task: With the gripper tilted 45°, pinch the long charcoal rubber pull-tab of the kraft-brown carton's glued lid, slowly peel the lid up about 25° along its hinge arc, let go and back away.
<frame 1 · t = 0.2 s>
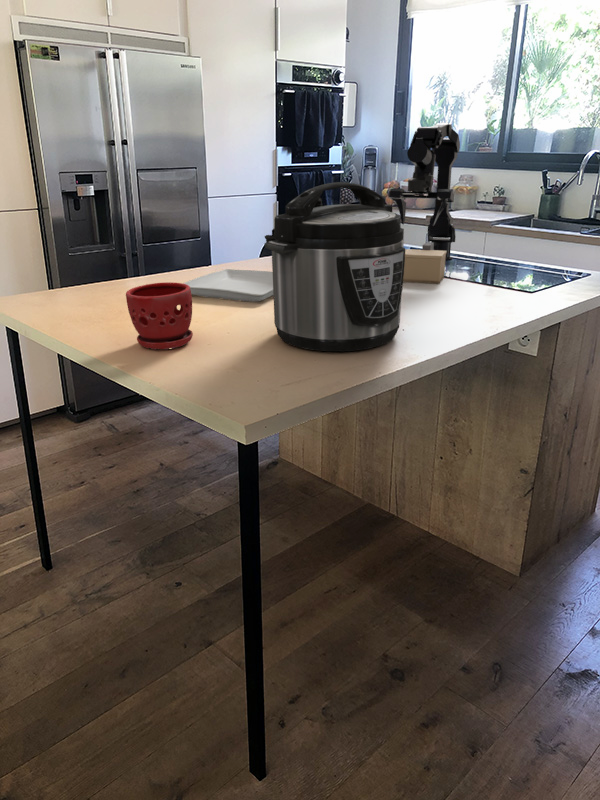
hand: (417, 224, 192), 16 cm above the table, tool tilted 15°, fingers open, 9 cm apart
pressure cooker: (338, 338, 138), on the table
lid: (425, 251, 194), point 8 cm above the table, hinge at 0.0°
square plate: (242, 293, 182), on the table
carton: (421, 279, 193), on the table
plant pot: (164, 345, 135), on the table
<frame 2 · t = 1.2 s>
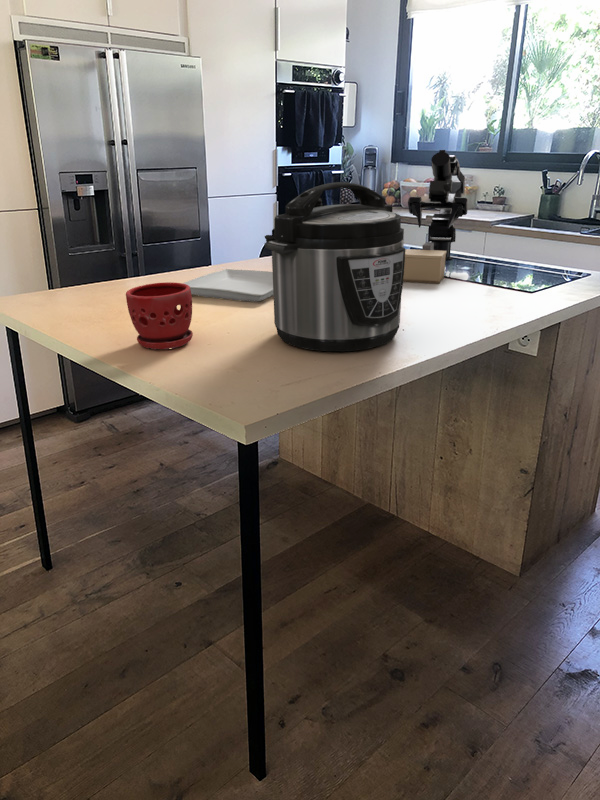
hand: (433, 227, 204), 13 cm above the table, tool tilted 45°, fingers open, 9 cm apart
nothing on the table moved.
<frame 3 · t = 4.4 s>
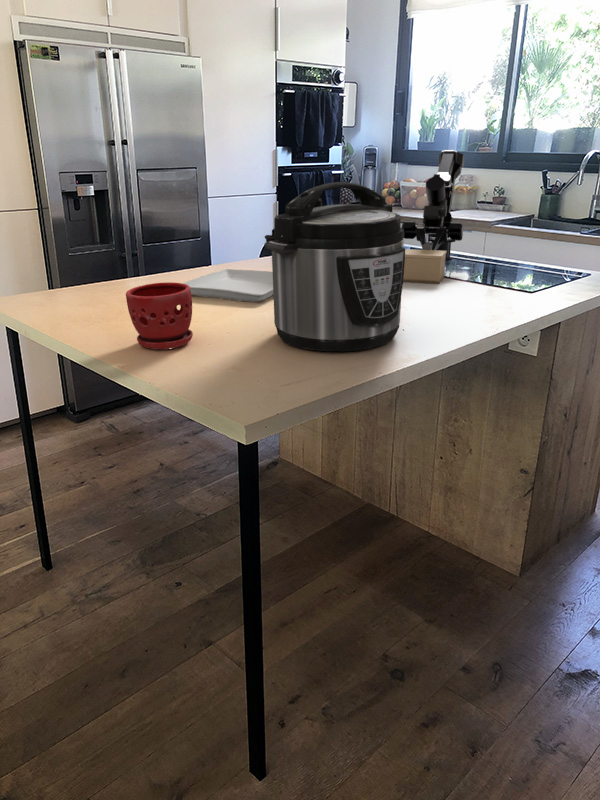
hand: (427, 252, 199), 7 cm above the table, tool tilted 45°, fingers closed on lid, 2 cm apart
lid: (425, 251, 194), point 8 cm above the table, hinge at 0.0°, touching gripper
everything else where it was.
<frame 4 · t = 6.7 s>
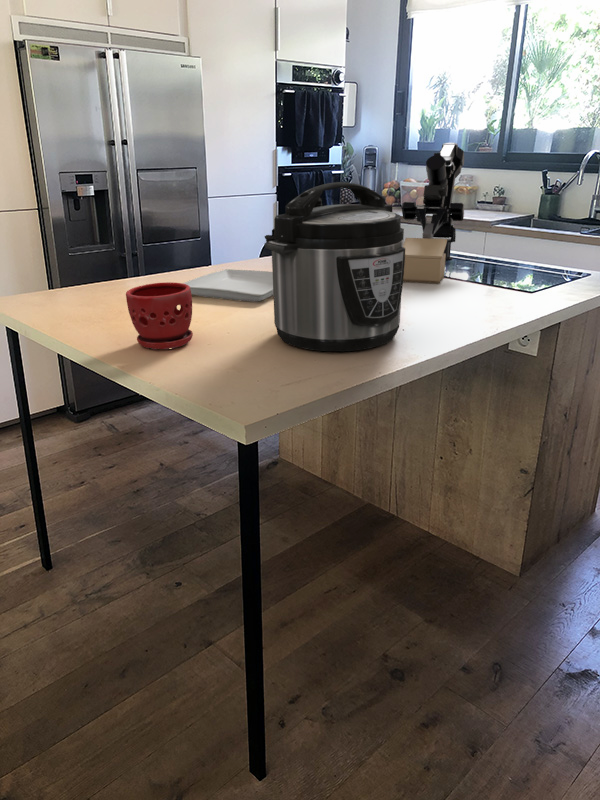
hand: (428, 233, 195), 13 cm above the table, tool tilted 45°, fingers closed on lid, 2 cm apart
lid: (425, 241, 192), point 11 cm above the table, hinge at 21.0°, touching gripper
everything else where it was.
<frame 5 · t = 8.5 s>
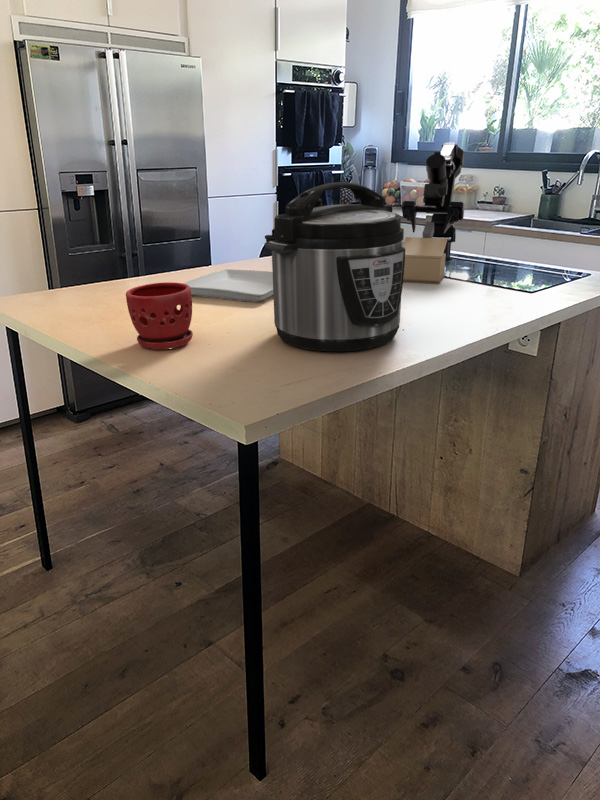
hand: (428, 232, 195), 13 cm above the table, tool tilted 45°, fingers open, 9 cm apart
lid: (425, 241, 192), point 11 cm above the table, hinge at 22.2°
everything else where it was.
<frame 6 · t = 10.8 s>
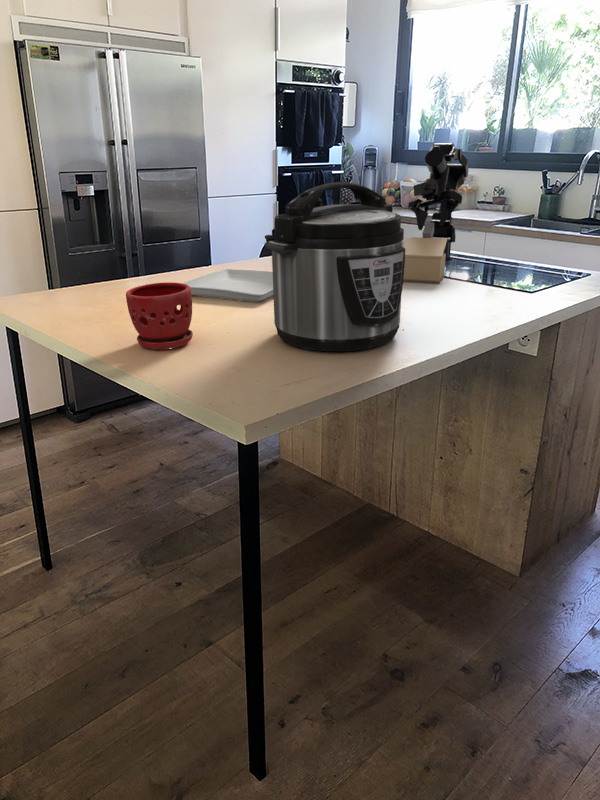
hand: (430, 227, 205), 13 cm above the table, tool tilted 30°, fingers open, 9 cm apart
nothing on the table moved.
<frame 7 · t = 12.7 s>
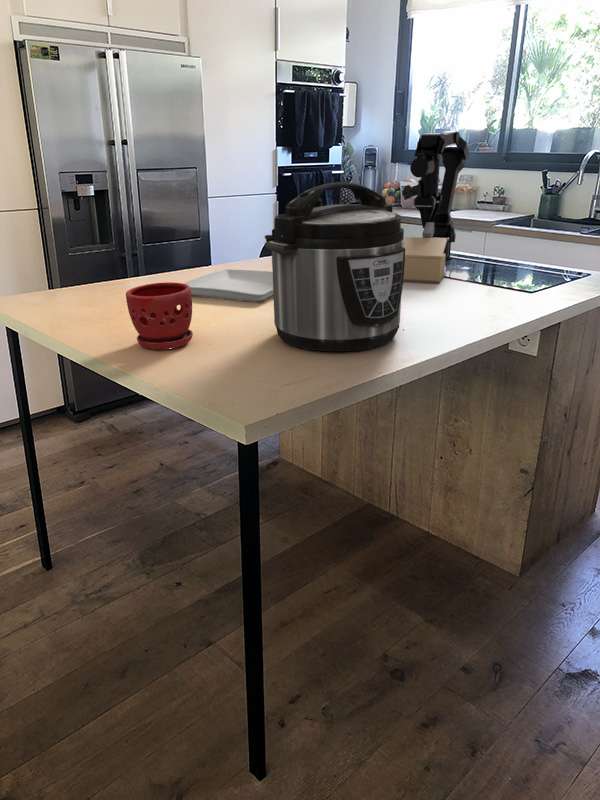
hand: (426, 226, 209), 13 cm above the table, tool pointing down, fingers open, 9 cm apart
nothing on the table moved.
at the end: lid at +22° (first picture: +0°); the gripper is holding nothing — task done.
